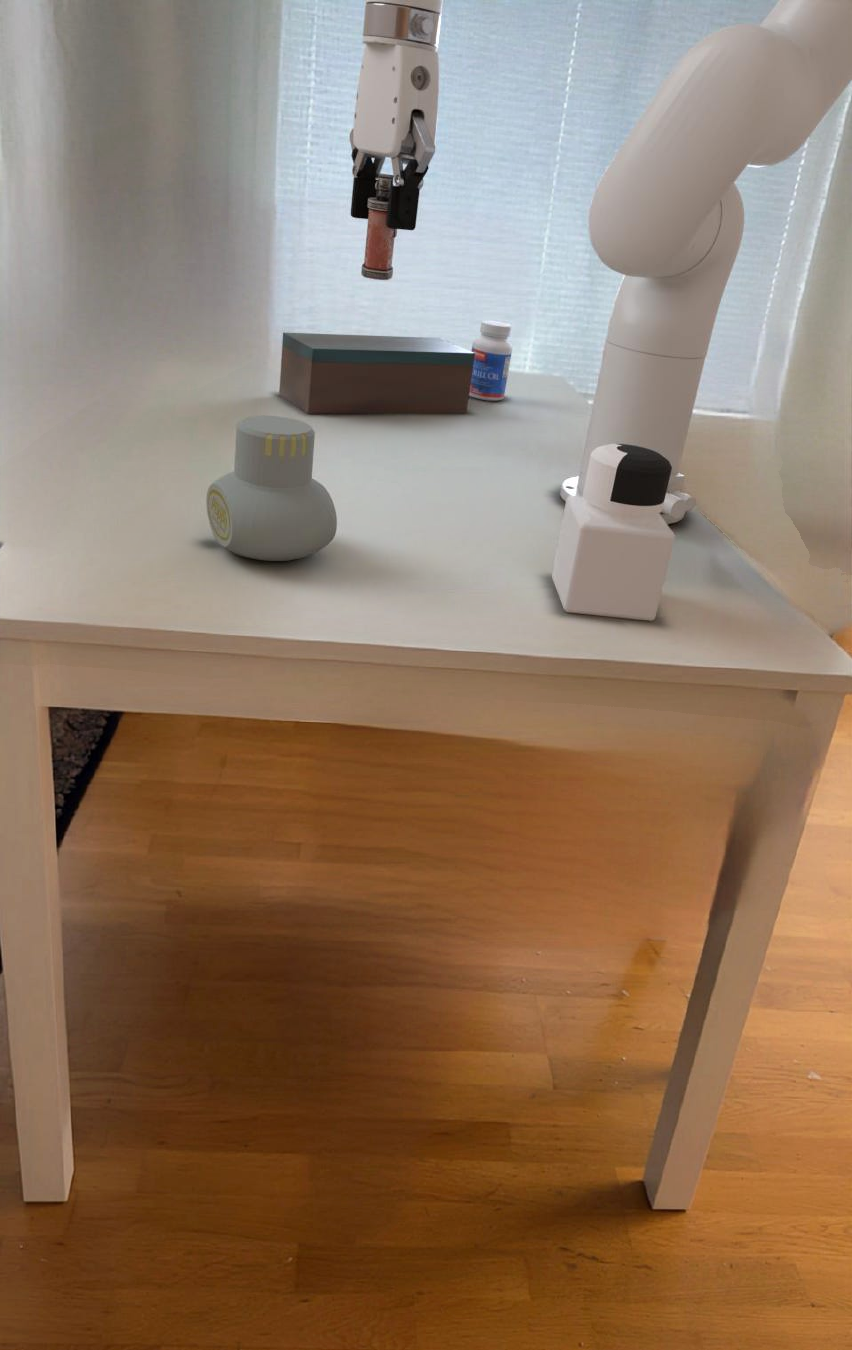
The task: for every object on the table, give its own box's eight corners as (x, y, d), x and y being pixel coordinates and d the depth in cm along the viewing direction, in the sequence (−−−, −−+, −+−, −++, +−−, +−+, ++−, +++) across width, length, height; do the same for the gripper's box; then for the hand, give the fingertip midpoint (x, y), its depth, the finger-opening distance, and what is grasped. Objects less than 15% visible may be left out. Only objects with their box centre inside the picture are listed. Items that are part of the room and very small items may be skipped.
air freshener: (342, 573, 82) (354, 445, 78) (237, 578, 79) (244, 445, 74) (295, 524, 91) (303, 407, 86) (199, 527, 87) (202, 405, 83)
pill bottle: (460, 396, 144) (470, 322, 140) (470, 389, 149) (480, 317, 145) (499, 403, 143) (511, 329, 139) (508, 397, 148) (519, 324, 144)
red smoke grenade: (391, 281, 112) (402, 177, 108) (359, 277, 112) (368, 173, 108) (393, 273, 119) (403, 175, 115) (363, 269, 119) (372, 171, 115)
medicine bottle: (635, 587, 87) (669, 443, 82) (655, 622, 81) (692, 469, 76) (550, 578, 87) (578, 432, 81) (563, 613, 80) (594, 458, 75)
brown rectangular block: (466, 413, 136) (475, 353, 133) (308, 414, 125) (312, 348, 122) (432, 395, 143) (439, 338, 139) (279, 394, 132) (282, 332, 129)
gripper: (480, 39, 101) (454, 238, 109) (392, 38, 114) (374, 216, 122) (412, 25, 97) (390, 232, 105) (329, 25, 110) (315, 210, 118)
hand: (382, 222), depth 113 cm, fingers closed on red smoke grenade, 7 cm apart
